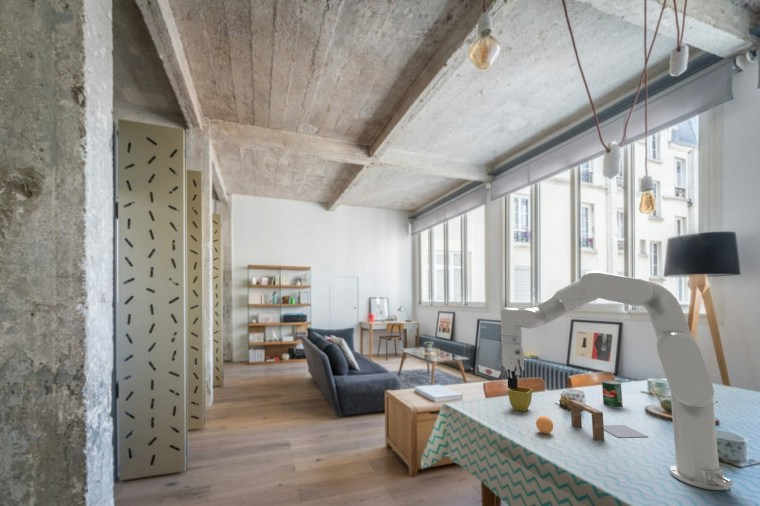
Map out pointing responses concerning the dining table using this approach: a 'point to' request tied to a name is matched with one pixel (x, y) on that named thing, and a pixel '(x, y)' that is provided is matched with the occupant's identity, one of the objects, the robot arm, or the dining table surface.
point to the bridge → (596, 418)
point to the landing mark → (622, 431)
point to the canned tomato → (612, 393)
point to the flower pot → (520, 398)
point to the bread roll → (565, 403)
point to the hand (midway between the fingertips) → (512, 388)
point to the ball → (544, 424)
